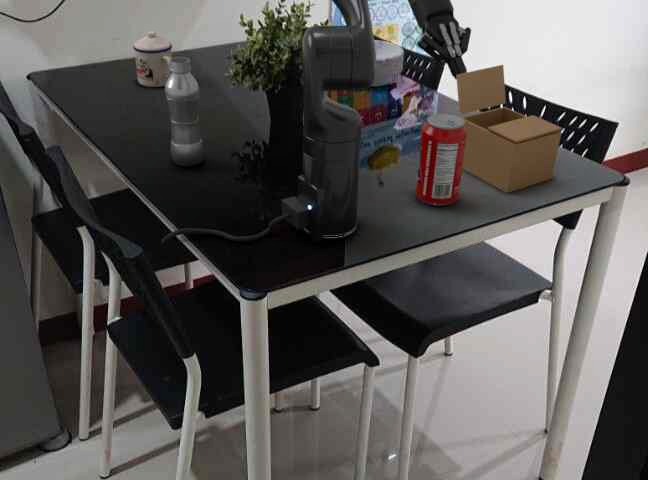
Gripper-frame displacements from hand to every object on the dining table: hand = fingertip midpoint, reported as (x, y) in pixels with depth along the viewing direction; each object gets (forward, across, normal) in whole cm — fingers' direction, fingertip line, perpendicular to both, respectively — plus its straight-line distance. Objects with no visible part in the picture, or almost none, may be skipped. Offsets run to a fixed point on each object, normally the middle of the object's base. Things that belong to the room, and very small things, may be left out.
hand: (461, 76), depth 154 cm
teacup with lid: (-36, +37, -56) cm, 76 cm away
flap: (+5, 0, +4) cm, 6 cm away
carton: (+20, 0, 0) cm, 21 cm away
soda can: (+22, +19, +2) cm, 29 cm away
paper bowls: (-19, -9, -39) cm, 44 cm away
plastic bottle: (-4, +51, -24) cm, 57 cm away
